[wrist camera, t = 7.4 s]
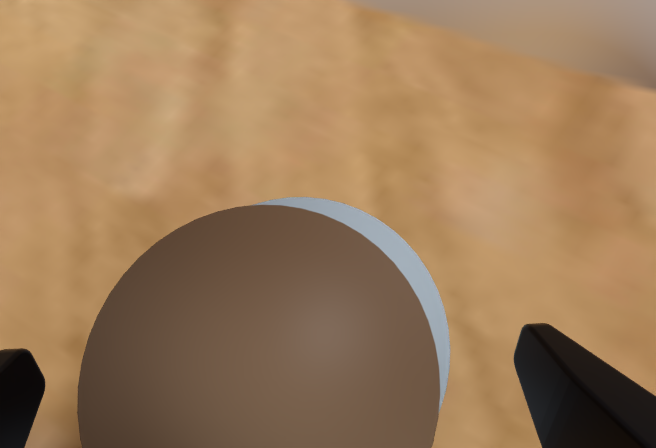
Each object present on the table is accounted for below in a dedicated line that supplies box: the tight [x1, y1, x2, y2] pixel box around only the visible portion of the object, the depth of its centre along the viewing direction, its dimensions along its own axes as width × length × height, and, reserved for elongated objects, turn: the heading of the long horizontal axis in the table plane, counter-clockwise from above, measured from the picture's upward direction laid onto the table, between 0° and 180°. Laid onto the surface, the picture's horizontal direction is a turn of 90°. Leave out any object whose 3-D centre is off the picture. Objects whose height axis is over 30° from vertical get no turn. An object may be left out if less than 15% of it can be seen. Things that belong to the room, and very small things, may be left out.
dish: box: [251, 197, 450, 411], centre depth 16 cm, size 11×11×1 cm
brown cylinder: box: [77, 205, 440, 448], centre depth 10 cm, size 4×4×11 cm
